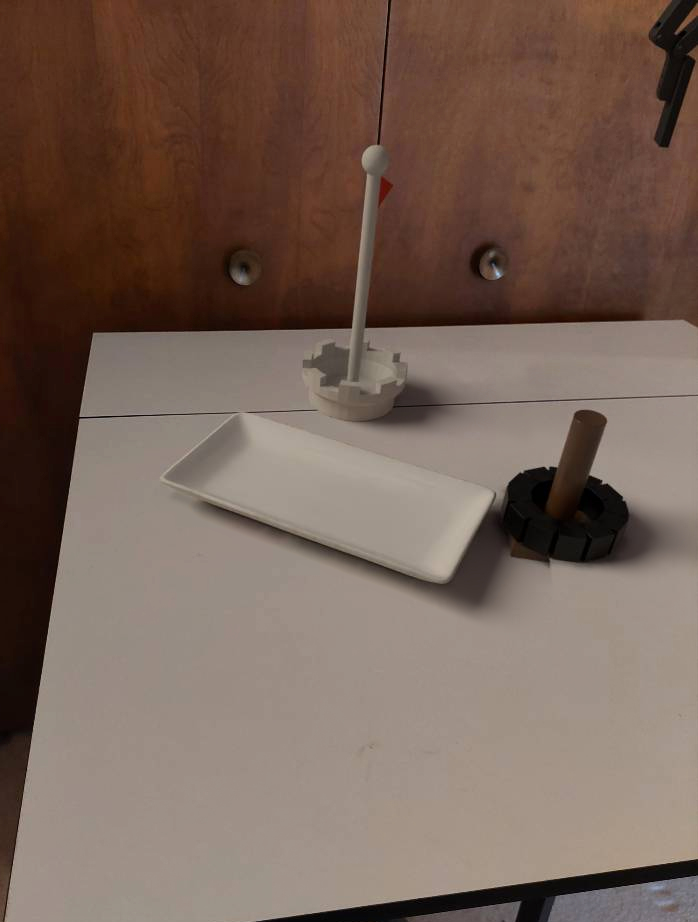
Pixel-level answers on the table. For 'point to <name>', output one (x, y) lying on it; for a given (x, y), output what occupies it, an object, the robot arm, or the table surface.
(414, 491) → the tray
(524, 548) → the post
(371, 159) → the flag stand
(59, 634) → the table surface
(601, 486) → the ring
